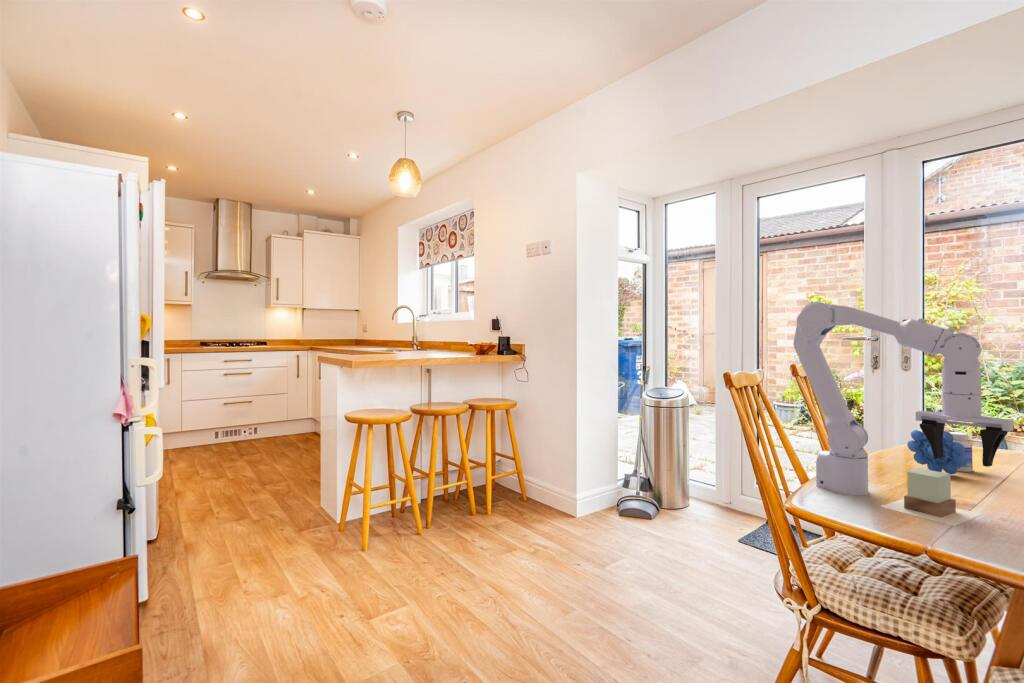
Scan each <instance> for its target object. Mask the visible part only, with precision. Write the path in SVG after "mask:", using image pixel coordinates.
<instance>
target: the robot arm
mask: <svg viewBox="0 0 1024 683" xmlns="http://www.w3.org/2000/svg"><path fill="white" fill-rule="evenodd" d="M927 321H928V320H927V319H923V318H920V317H919V318H918V319H915V318H914V319H913V318H910V319H907V320H904V321H902V322H900V321H897V320H893V319H890V318H887V317H883V316H880V315H878V314H875V313H871V312H868V311H866V310H861V309H860V308H859V309H858V308H856V307H852V306H851V307H850V306H845V305H838V304H831V303H825V302H821V301H813V302H810V303H808V304H806V305H805V306H804V307H803V308H802V310H801V311H800V313H799V314H798V315H797V317H796V328H795V331H794V332H795V334H794V337H793V348H794V350H795V352H796V354H797V357H798V359H799V361H800V364H801V365H802V368H803V370H804V373H805V375H806V377H807V379H808V381H809V384H810V386H811V388H812V390H813V393H814V395H815V397H816V399H817V401H818V404H819V406H820V408H821V411H822V413H823V416H824V425H825V429H827V444H828V446H829V448H830V449H829V450H821V451H820V452H819V453H818V454H817V458H816V461H815V462H816V463H815V468H816V469H815V470H816V472H815V474H816V475H815V476H816V478H815V479H816V480H815V481H816V484H815V485H816V486H815V488H822V489H826V490H830V491H833V492H836V493H837V494H838V493H840V494H843V495H850V496H867V495H868V494H869V457H868V455H869V453H867V452H866V450H865V449H864V447H865V446H866V445H867V443H868V441H869V435H868V431H867V430H866V429H865V428H864V426H862V425H860V423H859V422H858V421H857V418H855V415H854V414H853V413H852V412H851V410H850V409H849V408H848V406H847V403H846V401H845V399H844V397H843V394H842V393H841V390H840V387H839V385H838V384H837V381H836V379H835V377H834V374H833V372H832V370H831V368H830V366H829V363H828V362H827V360H826V357H825V355H824V353H823V351H822V348H821V347H820V346H821V344H822V342H823V340H824V339H825V337H826V335H827V334H828V333H829V332H830V331H832V330H833V329H834V328H835V327H836V326H849V325H855V326H858V327H861V328H866V329H868V330H872V331H876V332H879V333H882V334H887V335H890V336H894V338H895V339H896V342H897V344H898V345H901V346H904V347H908V348H910V349H914V350H917V351H921V352H924V353H927V354H928V355H929V354H930V355H932V356H936V355H939V354H941V355H942V357H943V369H942V370H941V378H942V379H941V391H942V392H941V397H942V399H941V400H942V402H941V403H942V404H941V405H942V406H941V407H942V408H941V410H942V412H940V411H938V412H937V411H925V410H917V411H915V421H919V422H921V423H919V428H920V430H921V432H922V433H923V432H924V434H925V435H926V437H927V439H928V441H929V443H930V446H931V449H932V452H933V455H934V458H942V457H943V432H944V431H945V427H946V426H945V425H946V424H947V425H956V426H964V427H965V426H966V427H973V428H981V429H980V430H979V434H980V438H981V444H982V460H981V461H982V466H983V467H992V466H993V463H994V458H995V455H996V453H997V451H998V448H999V447H1000V445H1001V443H1002V442H1003V440H1004V439H1005V437H1006V436H1007V435H1008V432H1012V431H1014V430H1015V429H1014V419H1005V418H997V417H992V416H991V417H989V416H983V415H982V372H981V370H980V369H979V368H980V367H981V362H980V360H979V357H980V355H981V353H982V348H981V344H980V342H979V340H978V339H977V338H975V336H972V335H970V334H967V333H965V332H957V333H955V331H956V328H953V327H948V328H944V327H941V326H938V325H935V324H931V323H927ZM982 428H984V429H982Z"/></svg>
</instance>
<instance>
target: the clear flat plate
mask: <svg viewBox="0 0 1024 683" xmlns="http://www.w3.org/2000/svg"><path fill="white" fill-rule="evenodd" d="M879 507H880V508H883V509H887V510H892V511H895V512H899V513H902V514H907V515H910V516H915V517H918V518H922V519H926V520H929V521H932V522H937V523H942V524H944V525H945V524H946V525H949V526H953V527H955V526H957V525H960V524H963V523H966V522H967V521H970V520H973V519H975V518H978V517H979V516H982V515H983V513H979V512H975V511H970V510H966V509H963V508H959V507H956V512H955V513H952V514H950V515H947V516H944V517H942V518H941V517H937V516H933V515H929V514H925V513H921V512H917V511H913V510H909V509H905V508H904V498H902V499H899V500H895V501H892V502H888V503H885V504H883V505H880V506H879Z"/></svg>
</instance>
